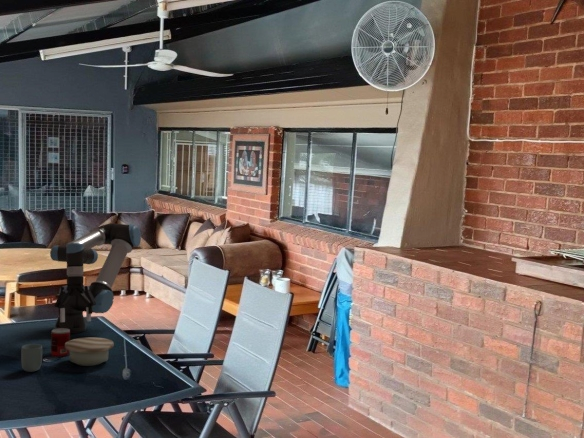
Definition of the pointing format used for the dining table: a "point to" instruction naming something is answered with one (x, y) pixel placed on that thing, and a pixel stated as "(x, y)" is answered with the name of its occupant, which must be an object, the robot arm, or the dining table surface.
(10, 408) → the dining table surface
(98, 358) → the bowl
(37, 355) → the cup
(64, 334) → the canned food
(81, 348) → the bowl cover
